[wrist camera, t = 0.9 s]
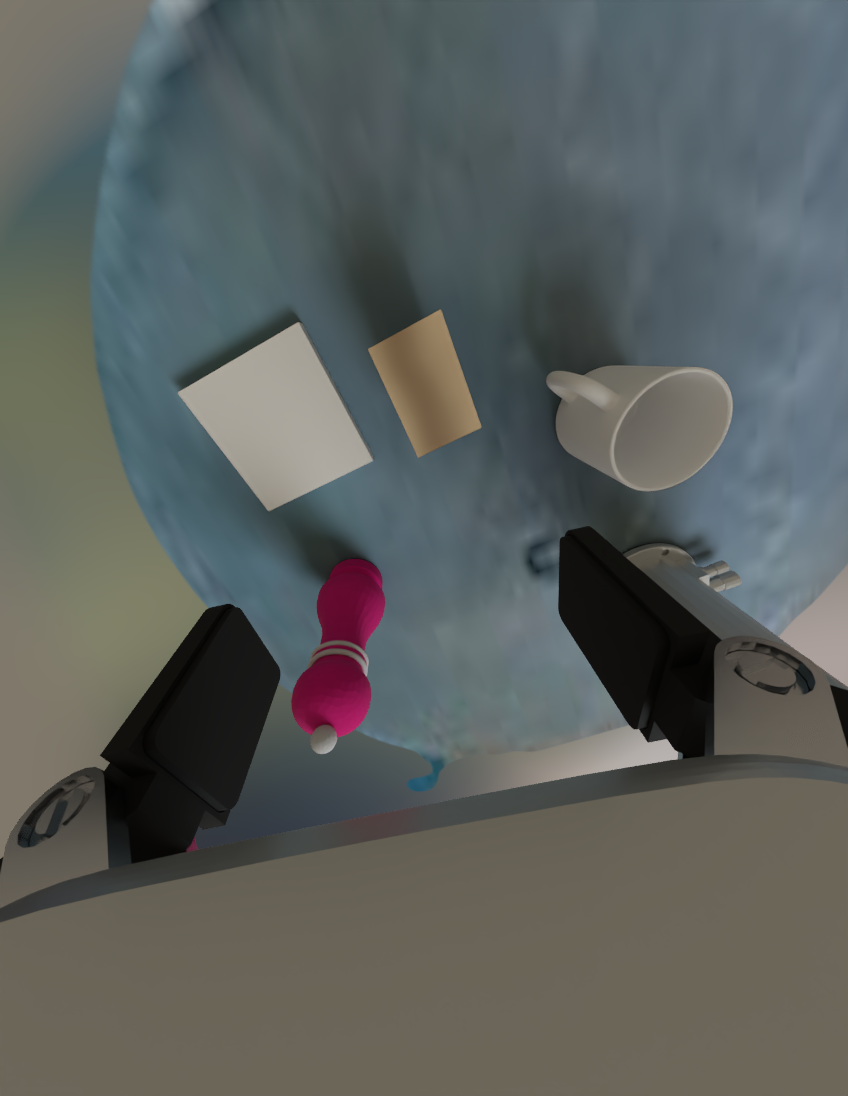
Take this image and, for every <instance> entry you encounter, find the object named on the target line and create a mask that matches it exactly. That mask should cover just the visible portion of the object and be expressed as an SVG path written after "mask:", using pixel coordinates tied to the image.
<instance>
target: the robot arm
mask: <svg viewBox="0 0 848 1096" xmlns="http://www.w3.org/2000/svg"><path fill="white" fill-rule="evenodd" d="M714 575H716V576H714ZM711 576H714V577H713V578H710V579H709V577H711ZM739 585H741V579H740V577H739V576H738V574H736V573H735V572H733V571H729V566H728V565H727V563H726V562H724V561H718V562H716V563H713V564H710V565H709V566H706V567H704V568H703V567H700V566H699V567H697V566H696V565H695V562H694V560H693V558H692V557H691V556H690V555H689V554H688V553H687V552H686V551H684V550H682V549H681V548H679V547H677V546H674V545H671V544H665V543H654V544H648V545H643V546H640V547H637V548H634V549H632V550H630V551H628V552H626V553H624V554H622V553H620V552H619V551H618V550H617V549H616V548H615V547H613V546H612V545H611V544H610V543H609V542H608V541H607V540H605V539H604V538H603V537H602V536H601V535H600V534H598V533H597V532H596V531H595V530H594V529H593V528H591V527H590V526H587V527H582V528H578V529H573V530H568V531H567V532H566V535H565V537H562V538H561V539H560V557H559V603H558V609H559V614H560V617H561V619H562V621H563V623H564V624H565V626H566V627H567V629H568V630H569V632H570V634H571V635H572V637H573V638H574V640H575V641H576V643H577V645H578V646H579V648H580V649H581V651H582V652H583V654H584V655H585V657H586V659H587V660H588V662H589V663H590V665H591V666H592V668H593V670H594V671H595V673H596V674H597V676H598V677H599V679H600V680H601V682H602V684H603V685H604V687H605V688H606V690H607V691H608V693H609V695H610V696H611V698H612V699H613V701H614V702H615V704H616V705H617V707H618V709H619V710H620V712H621V713H622V715H623V716H624V718H625V719H626V721H627V722H628V724H629V725H630V726H631V727H632V728H633V729H639V730H640V731H641V733H642V734H643V736H644V737H645V739H646V740H647V742H653V741H658V740H663V739H668V741H669V742H670V744H671V745H672V747H673V748H674V749H675V750H676V751H678V760H670V761H664V762H658V763H652V764H647V765H640V766H634V767H628V768H622V769H617V770H611V771H605V772H599V773H593V774H587V775H581V776H576V777H571V778H565V779H560V780H555V781H550V782H544V783H539V784H534V785H528V786H523V787H518V788H512V789H508V790H502V791H497V792H491V793H486V794H481V795H476V796H470V797H465V798H459V799H454V800H450V801H444V802H439V803H434V804H429V805H423V806H418V807H413V808H407V809H403V810H397V811H392V812H387V813H382V814H376V815H371V816H366V817H361V818H356V819H351V820H346V821H340V822H336V823H330V824H325V825H320V826H315V827H310V828H304V829H299V830H295V831H289V832H285V833H279V834H275V835H270V836H265V837H259V838H255V839H249V840H244V841H239V842H234V843H230V844H224V845H219V846H214V847H209V848H204V849H199V850H198V849H197V845H196V842H195V838H194V836H195V834H196V831H197V829H198V826H199V827H200V828H202V829H208V828H213V827H218V826H223V825H225V824H226V821H227V818H228V815H229V813H230V809H232V808H233V807H234V806H235V805H236V803H237V801H238V799H239V796H240V793H241V790H242V788H243V785H244V782H245V779H246V776H247V773H248V770H249V767H250V764H251V761H252V758H253V756H254V752H255V750H256V747H257V744H258V741H259V738H260V735H261V732H262V729H263V726H264V724H265V721H266V718H267V715H268V712H269V709H270V706H271V703H272V700H273V697H274V694H275V692H276V689H277V686H278V683H279V680H280V669H279V667H278V665H277V663H276V662H275V660H274V659H273V657H272V656H271V654H270V653H269V651H268V650H267V648H266V647H265V645H264V644H263V642H262V641H261V639H260V637H259V636H258V634H257V633H256V631H255V630H254V628H253V627H252V625H251V624H250V622H249V621H248V619H247V618H246V616H245V615H244V613H243V612H242V610H241V609H240V608H238V607H235V606H233V605H232V604H225V605H221V606H216V607H211V608H208V609H207V610H206V611H205V612H204V613H203V614H202V616H201V617H200V619H199V620H198V622H197V623H196V624H195V626H194V627H193V628H192V630H191V631H190V632H189V634H188V635H187V636H186V638H185V639H184V641H183V642H182V643H181V645H180V646H179V648H178V649H177V650H176V652H175V653H174V654H173V656H172V657H171V658H170V660H169V661H168V663H167V664H166V665H165V667H164V668H163V670H162V671H161V672H160V674H159V675H158V677H157V678H156V679H155V680H154V682H153V684H152V685H151V686H150V687H149V689H148V690H147V691H146V693H145V694H144V696H143V697H142V698H141V700H140V701H139V703H138V704H137V705H136V707H135V708H134V710H133V711H132V712H131V714H130V715H129V716H128V718H127V719H126V720H125V722H124V723H123V725H122V726H121V727H120V729H119V730H118V731H117V733H116V734H115V736H114V737H113V738H112V740H111V741H110V742H109V744H108V745H107V747H106V748H105V750H104V751H103V752H102V754H101V755H100V756H101V757H103V758H105V759H106V760H107V761H109V762H110V764H109V765H108V767H107V768H106V769H105V771H103V770H101V769H99V768H97V767H90V768H84V769H82V770H80V771H77V772H74V773H72V774H71V775H69V776H67V777H66V778H64V779H62V780H61V781H59V782H58V783H56V784H55V785H54V786H53V787H51V788H50V789H49V790H47V791H46V792H45V793H44V794H43V795H42V796H41V797H40V798H38V800H36V801H35V802H34V803H33V804H32V805H31V806H30V807H29V809H28V810H27V811H26V812H25V813H24V815H23V816H22V817H21V818H20V819H19V821H18V822H17V824H16V825H15V827H14V829H13V830H12V832H11V833H10V836H9V838H8V841H7V844H6V847H5V852H4V857H3V858H1V859H0V1096H848V687H847V686H846V685H844V684H843V683H841V682H840V681H839V680H837V679H836V678H834V677H833V676H832V675H830V674H829V673H827V672H826V671H825V670H823V669H822V668H820V667H819V666H818V665H816V664H815V663H814V662H812V661H811V660H810V659H808V658H807V657H805V656H804V655H802V654H801V653H799V652H798V651H797V650H795V649H794V648H793V647H791V646H790V645H788V644H787V643H786V642H784V641H783V640H782V639H780V638H779V637H778V636H776V635H775V634H773V633H772V632H771V631H769V630H768V629H767V628H765V627H764V626H763V625H761V624H760V623H759V622H757V621H756V620H754V619H753V618H752V617H750V616H749V615H748V614H746V613H745V612H744V611H742V610H741V609H739V608H738V607H737V606H735V605H734V604H733V603H731V602H730V601H729V600H727V599H726V598H724V597H723V596H722V595H720V594H719V593H718V592H719V591H722V590H723V591H724V590H727V589H730V588H733V587H736V586H739Z"/></svg>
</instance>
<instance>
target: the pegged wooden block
mask: <svg viewBox="0 0 848 1096" xmlns="http://www.w3.org/2000/svg"><path fill="white" fill-rule="evenodd" d="M368 351H369V353H370V355H371V357H372V359H373V361H374V364H375V366H376V368H377V370H378V372H379V374H380V376H381V379H382V381H383V383H384V385H385V387H386V389H387V392H388V394H389V396H390V398H391V400H392V402H393V404H394V407H395V409H396V411H397V413H398V415H399V417H400V420H401V422H402V424H403V426H404V428H405V430H406V432H407V435H408V437H409V439H410V441H411V443H412V445H413V448H414V450H415V452H416V454H417V456H418V458H419V457H421V456H423V455H425V454H427V453H429V452H431V451H433V450H435V449H438V448H440V447H442V446H444V445H446V444H448V443H450V442H452V441H454V440H456V439H459V438H461V437H463V436H465V435H467V434H469V433H471V432H473V431H475V430H478V429H480V428H482V427H481V424H480V421H479V418H478V415H477V412H476V409H475V407H474V404H473V401H472V398H471V395H470V392H469V389H468V386H467V383H466V380H465V378H464V375H463V372H462V369H461V366H460V363H459V360H458V357H457V354H456V352H455V349H454V346H453V343H452V340H451V337H450V334H449V331H448V328H447V326H446V323H445V320H444V317H443V314H442V311H441V309H440V310H438V311H437V312H435V313H433V314H431V315H429V316H427V317H426V318H424V319H422V320H420V321H418V322H416V323H415V324H413V325H411V326H409V327H407V328H405V329H404V330H402V331H400V332H398V333H396V334H395V335H393V336H391V337H389V338H387V339H385V340H384V341H382V342H380V343H378V344H376V345H374V346H373V347H371V348H369V349H368Z"/></svg>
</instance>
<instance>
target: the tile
mask: <svg viewBox="0 0 848 1096" xmlns="http://www.w3.org/2000/svg"><path fill="white" fill-rule="evenodd" d="M178 394H179V396H180V397H181V398H182V400H183V401H184V402H185V403H186V405H187V406H188V407H189V409H190V410H191V411H192V413H193V414H194V415H195V416H196V418H197V419H198V420H199V422H200V423H201V424H202V426H203V427H204V428H205V429H206V431H207V432H208V433H209V435H210V436H211V437H212V439H213V440H214V441H215V442H216V444H217V445H218V446H219V448H220V449H221V450H222V452H223V453H224V454H225V455H226V457H227V458H228V459H229V461H230V462H231V463H232V465H233V466H234V467H235V468H236V470H237V471H238V472H239V474H240V475H241V476H242V478H243V479H244V480H245V481H246V483H247V484H248V485H249V487H250V488H251V489H252V491H253V492H254V493H255V494H256V496H257V497H258V498H259V500H260V501H261V502H262V504H263V505H264V506H265V507H266V509H267V510H268V511H271V510H273V509H275V508H277V507H279V506H281V505H283V504H285V503H287V502H289V501H291V500H293V499H295V498H297V497H300V496H302V495H304V494H306V493H308V492H310V491H312V490H314V489H316V488H318V487H320V486H322V485H324V484H326V483H328V482H330V481H333V480H335V479H337V478H339V477H341V476H343V475H345V474H347V473H349V472H351V471H353V470H355V469H357V468H359V467H361V466H363V465H366V464H368V463H370V462H372V461H373V460H374V456H373V454H372V453H371V451H370V449H369V447H368V445H367V443H366V441H365V439H364V438H363V436H362V434H361V432H360V430H359V428H358V426H357V425H356V423H355V421H354V419H353V417H352V415H351V413H350V411H349V410H348V408H347V406H346V404H345V402H344V400H343V398H342V396H341V395H340V393H339V391H338V389H337V387H336V385H335V383H334V381H333V380H332V378H331V376H330V374H329V372H328V370H327V368H326V366H325V365H324V363H323V361H322V359H321V357H320V355H319V353H318V352H317V350H316V348H315V346H314V344H313V342H312V340H311V338H310V337H309V335H308V333H307V331H306V329H305V327H304V325H303V323H300V322H298V323H296V324H294V325H292V326H291V327H289V328H287V329H286V330H284V331H282V332H280V333H279V334H277V335H275V336H274V337H272V338H270V339H268V340H267V341H265V342H263V343H262V344H260V345H258V346H256V347H255V348H253V349H251V350H250V351H248V352H246V353H245V354H243V355H241V356H239V357H238V358H236V359H234V360H233V361H231V362H229V363H227V364H226V365H224V366H222V367H221V368H219V369H217V370H215V371H214V372H212V373H210V374H209V375H207V376H205V377H204V378H202V379H200V380H198V381H197V382H195V383H193V384H192V385H190V386H188V387H186V388H185V389H183V390H181V391H180V392H178Z"/></svg>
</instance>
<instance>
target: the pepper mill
mask: <svg viewBox="0 0 848 1096" xmlns="http://www.w3.org/2000/svg"><path fill="white" fill-rule="evenodd" d="M384 608H385V597H384V593H383V591H382V576H381V573H380V572H379V570H378V569H377V568H376V567H375V566H374V565H373V564H371V563H370V562H367V561H365V560H361V559H348V560H344V561H342V562H340V563H339V564H337V565H336V566H335V567H334V568H333V569H332V571H331V574H330V577H329V580H328V581H327V582H326V583H325V584H324V585H323V586H322V588H321V590H320V592H319V595H318V600H317V614H318V618H319V622H320V624H321V627H322V639H321V644H320V645H319V646H318V647H317V648H316V649H315V650H314V651H313V652H312V654H311V657H310V661H309V664H308V669H307V670H306V671H305V672H303V674H302V675H301V676H300V678H299V679H298V680H297V683H296V685H295V687H294V690H293V695H292V712H293V715H294V718H295V720H296V722H297V723H298V725H299V726H300V727H301V728H302V729H303V730H304V731H305V732H307V733H309V734H311V735H312V736H311V747H312V749H313V750H314V751H315V752H317V753H319V754H325V753H328V752H329V751H331V750H332V749H333V748H334V746H335V744H336V741H337V737H340V736H343V735H346V734H348V733H350V732H351V731H353V730H354V729H356V728H357V727H358V726H359V725H360V724H361V722H362V721H363V720H364V718H365V716H366V714H367V712H368V709H369V706H370V701H371V688H370V683H369V681H368V679H367V677H366V676H367V672H368V664H369V661H368V656H367V654H366V653H365V651H364V650H365V646H366V642H367V640H368V638H369V637H370V635H371V634H372V632H373V631H374V630H375V629H376V627H377V626H378V624H379V622H380V620H381V618H382V616H383V613H384Z"/></svg>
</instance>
